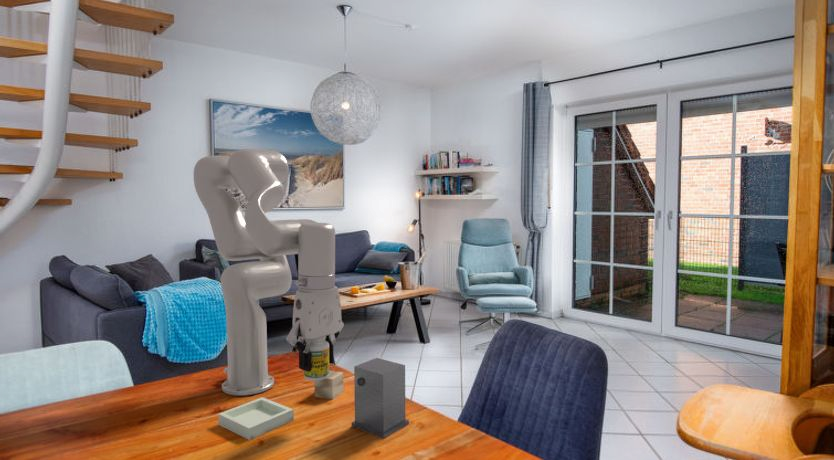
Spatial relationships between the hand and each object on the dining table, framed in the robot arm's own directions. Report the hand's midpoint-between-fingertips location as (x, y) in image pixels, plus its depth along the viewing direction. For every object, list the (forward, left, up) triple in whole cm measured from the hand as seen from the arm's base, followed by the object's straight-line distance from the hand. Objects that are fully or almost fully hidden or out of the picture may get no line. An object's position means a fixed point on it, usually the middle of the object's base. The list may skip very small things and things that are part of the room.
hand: (316, 365), depth 108 cm
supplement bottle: (0, 0, -3) cm, 3 cm away
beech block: (-9, +12, -13) cm, 20 cm away
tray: (-10, -8, -12) cm, 18 cm away
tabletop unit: (+12, +7, -12) cm, 19 cm away
